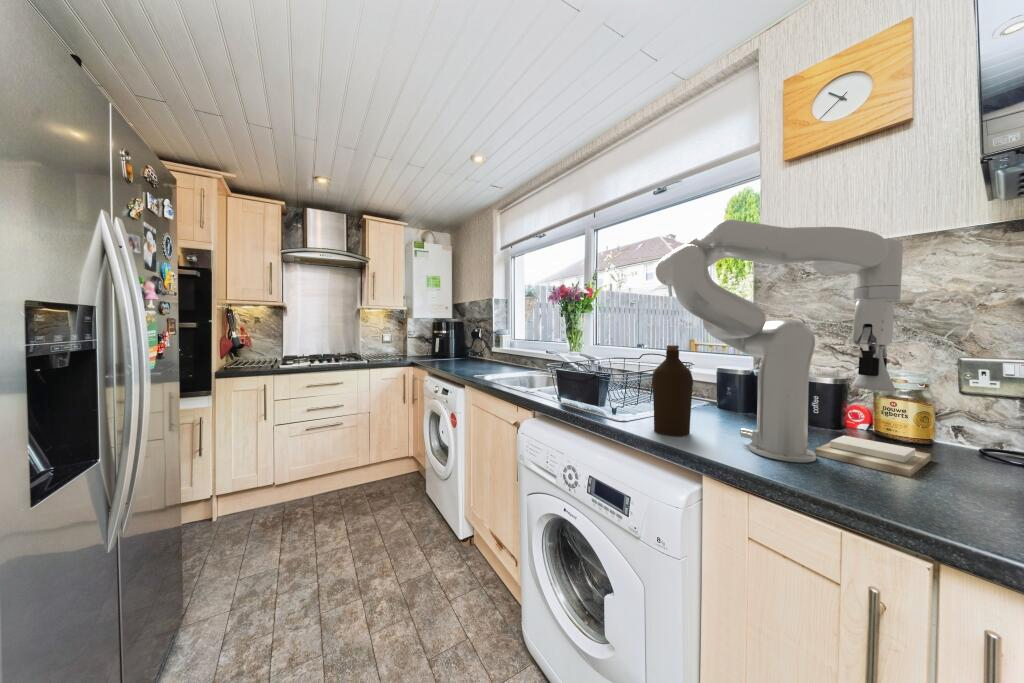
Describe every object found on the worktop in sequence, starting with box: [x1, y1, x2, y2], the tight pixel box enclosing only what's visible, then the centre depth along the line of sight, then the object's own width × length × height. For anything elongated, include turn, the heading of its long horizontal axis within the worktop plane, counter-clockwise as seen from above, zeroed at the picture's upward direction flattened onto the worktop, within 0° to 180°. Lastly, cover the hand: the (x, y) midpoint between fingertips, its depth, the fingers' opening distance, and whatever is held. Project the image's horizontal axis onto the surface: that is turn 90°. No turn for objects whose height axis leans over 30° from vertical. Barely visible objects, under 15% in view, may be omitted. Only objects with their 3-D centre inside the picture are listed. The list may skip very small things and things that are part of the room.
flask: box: [851, 346, 896, 392], centre depth 81 cm, size 7×7×10 cm
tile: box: [829, 435, 916, 463], centre depth 81 cm, size 12×2×9 cm
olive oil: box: [651, 344, 694, 437], centre depth 102 cm, size 11×11×25 cm
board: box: [814, 442, 931, 478], centre depth 81 cm, size 15×18×2 cm
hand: (872, 374), depth 82 cm, fingers closed on flask, 4 cm apart
